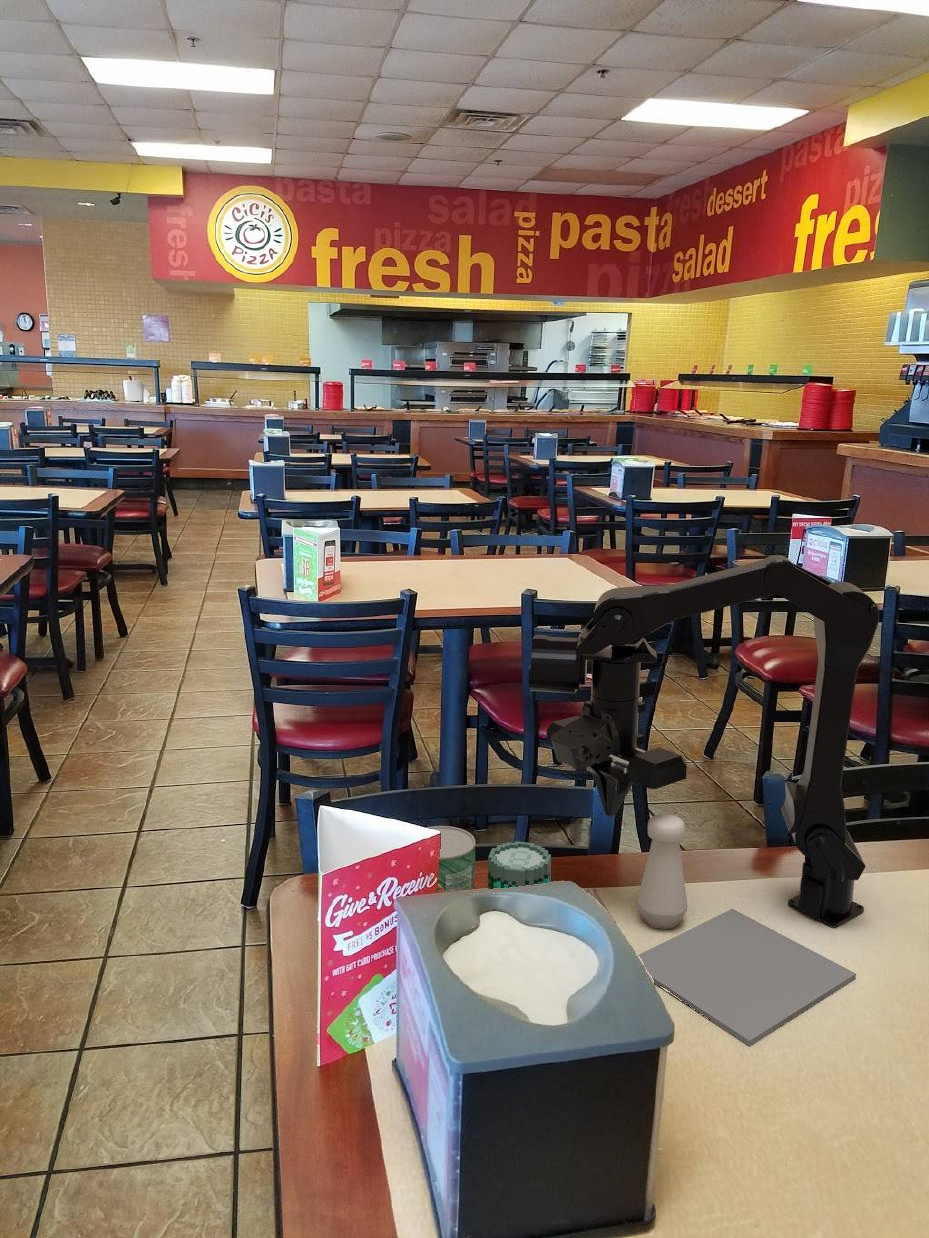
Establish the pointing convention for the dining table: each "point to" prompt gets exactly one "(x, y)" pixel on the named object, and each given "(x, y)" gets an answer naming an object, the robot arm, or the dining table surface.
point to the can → (518, 865)
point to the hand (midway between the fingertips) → (610, 814)
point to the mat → (743, 974)
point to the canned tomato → (456, 859)
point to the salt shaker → (663, 874)
